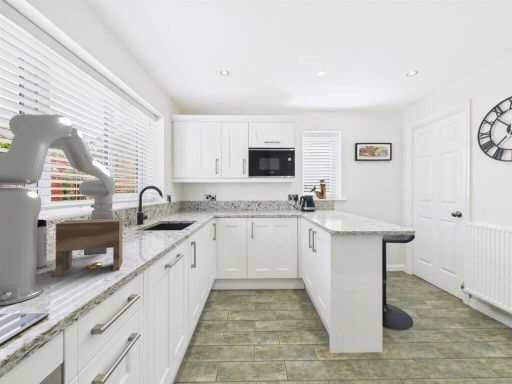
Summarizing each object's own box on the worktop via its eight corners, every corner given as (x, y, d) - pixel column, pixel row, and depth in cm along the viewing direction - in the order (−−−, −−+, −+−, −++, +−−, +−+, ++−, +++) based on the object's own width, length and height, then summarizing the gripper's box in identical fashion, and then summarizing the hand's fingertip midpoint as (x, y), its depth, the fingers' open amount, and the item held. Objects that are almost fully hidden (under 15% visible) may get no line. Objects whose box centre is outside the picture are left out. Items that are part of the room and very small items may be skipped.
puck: (100, 269, 98) (100, 265, 98) (82, 270, 95) (82, 267, 95) (103, 265, 103) (103, 261, 103) (86, 266, 101) (86, 262, 101)
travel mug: (21, 269, 96) (21, 218, 97) (42, 264, 102) (42, 217, 102) (28, 271, 94) (28, 219, 94) (49, 266, 99) (49, 217, 99)
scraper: (106, 253, 105) (106, 237, 105) (83, 255, 102) (84, 238, 102) (112, 245, 123) (112, 231, 123) (93, 246, 119) (94, 232, 120)
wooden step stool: (119, 270, 96) (119, 221, 96) (55, 276, 88) (55, 224, 88) (122, 261, 107) (122, 218, 107) (66, 267, 99) (66, 220, 99)
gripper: (81, 207, 113) (80, 247, 113) (121, 207, 120) (120, 244, 119) (85, 207, 120) (84, 244, 120) (123, 206, 127) (122, 242, 126)
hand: (102, 244), depth 119 cm, fingers closed on scraper, 3 cm apart
